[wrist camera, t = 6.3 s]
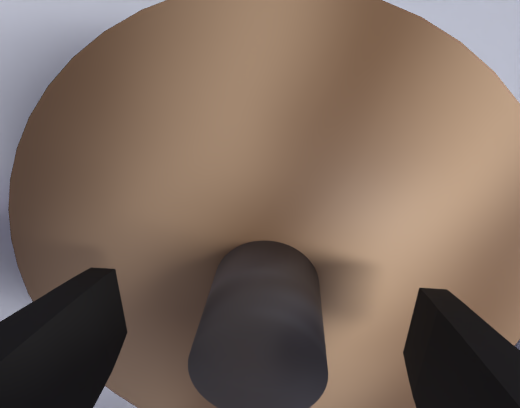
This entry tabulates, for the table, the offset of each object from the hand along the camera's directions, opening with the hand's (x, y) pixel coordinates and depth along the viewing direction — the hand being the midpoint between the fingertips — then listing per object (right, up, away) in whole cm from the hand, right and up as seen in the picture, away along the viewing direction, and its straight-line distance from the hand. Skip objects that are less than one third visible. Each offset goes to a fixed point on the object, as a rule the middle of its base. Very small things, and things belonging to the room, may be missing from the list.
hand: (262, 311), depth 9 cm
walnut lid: (0, +1, +2) cm, 2 cm away
